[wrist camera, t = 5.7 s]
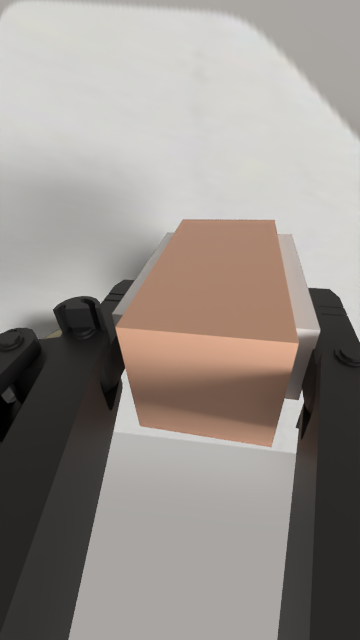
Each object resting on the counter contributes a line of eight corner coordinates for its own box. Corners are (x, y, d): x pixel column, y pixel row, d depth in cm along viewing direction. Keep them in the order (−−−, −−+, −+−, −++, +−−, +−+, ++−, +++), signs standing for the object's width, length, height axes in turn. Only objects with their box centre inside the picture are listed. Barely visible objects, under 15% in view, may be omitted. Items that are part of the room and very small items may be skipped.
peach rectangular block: (182, 219, 13) (115, 327, 6) (274, 219, 12) (298, 343, 6) (186, 294, 15) (140, 426, 9) (263, 299, 14) (271, 447, 8)
